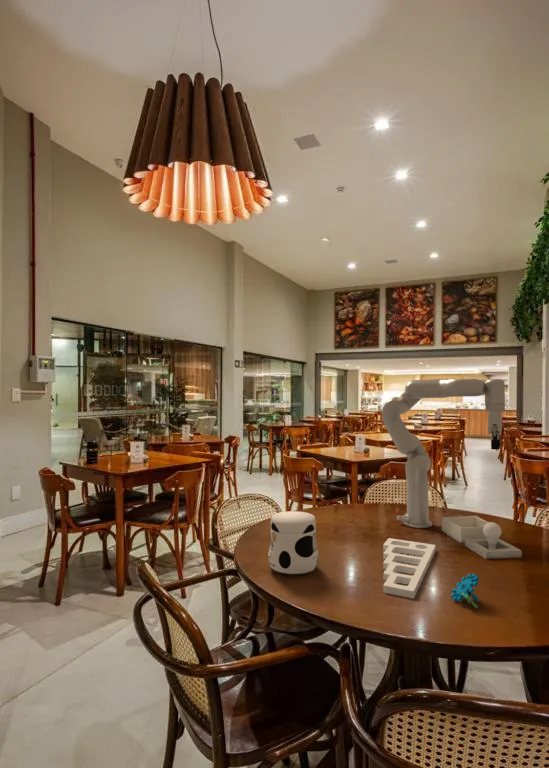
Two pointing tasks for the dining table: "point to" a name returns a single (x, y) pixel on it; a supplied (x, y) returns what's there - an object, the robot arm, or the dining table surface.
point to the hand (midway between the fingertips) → (495, 448)
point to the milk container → (293, 543)
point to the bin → (464, 527)
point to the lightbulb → (492, 534)
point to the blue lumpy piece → (466, 589)
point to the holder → (405, 565)
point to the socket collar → (502, 552)
